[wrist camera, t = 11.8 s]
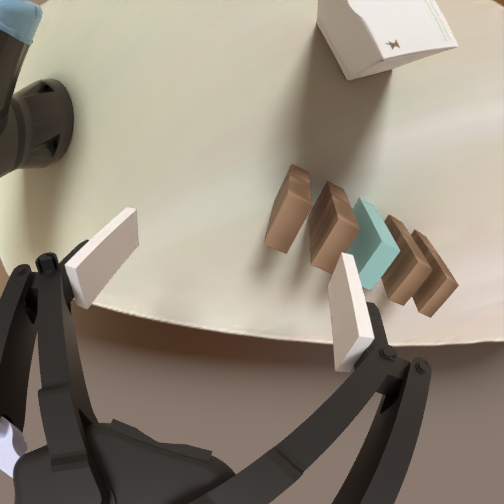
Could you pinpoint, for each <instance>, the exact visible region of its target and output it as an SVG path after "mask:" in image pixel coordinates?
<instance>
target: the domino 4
mask: <svg viewBox="0 0 504 504" xmlns="http://www.w3.org/2000/svg"><path fill="white" fill-rule="evenodd" d="M411 236H412V238H413V239H414V241H415V242H416V244H417V245H418V247H419V249H420V250H421V252H422V253H423V255H424V257H425V258H426V260H427V261H428V263H429V265H430V266H431V268H432V270H433V271H432V272H431V273H430V275H429V276H428V277H427V278H426V280H425V281H424V282H423V283H422V285H421V286H420V287H419V288H418V289H417V291H416V292H415V293H414V294H413V295H412V297H413V300H414V302H415V305H416V307H417V310H418V312H419V313H422V314H424V315H426V316H428V317H430V318H431V317H432V316H433V315H434V313H435V312H436V311H437V310H438V309H439V308H440V307H441V306H442V305H443V303H444V302H445V301H446V300H447V299H448V298H449V296H450V295H451V294H452V293H453V292H454V290H455V289H456V288H457V287H458V286H459V285H458V283H457V282H456V280H455V279H454V277H453V275H452V274H451V272H450V271H449V269H448V268H447V266H446V265H445V263H444V262H443V260H442V259H441V257H440V256H439V254H438V253H437V251H436V250H435V249H434V247H433V246H432V244H431V243H430V242H429V240H428V239H427V237H426V236H424V235H423V234H421V233H420V232H418V231H416V230H414V231H413V233H412V234H411Z"/></svg>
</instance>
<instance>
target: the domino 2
mask: <svg viewBox="0 0 504 504" xmlns="http://www.w3.org/2000/svg"><path fill="white" fill-rule="evenodd" d="M309 226H310V253H311V265H313V266H315V267H317V268H320V269H322V270H324V271H326V272H329V273H331V274H332V273H333V271H334V270H335V268H336V265H337V263H338V260H339V258H340V255H341V253H346V252H347V250H348V249H349V247H350V246H351V244H352V243H353V241H354V240H355V238H356V237H357V235H358V233H359V232H360V227H359V225H358V222H357V220H356V218H355V215H354V213H353V210H352V208H351V206H350V203H349V201H348V199H347V196H346V194H345V192H344V190H343V189H342V188H340V187H338V186H336V185H334V184H332V183H330V182H328V181H327V183H326V185H325V187H324V188H323V190H322V192H321V194H320V196H319V198H318V200H317V202H316V203H315V205H314V207H313V209H312V211H311V213H310V215H309Z"/></svg>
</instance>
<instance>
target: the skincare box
mask: <svg viewBox="0 0 504 504" xmlns="http://www.w3.org/2000/svg"><path fill="white" fill-rule="evenodd" d="M316 23H317V25H318V27H319V29H320V31H321V32H322V34H323V36H324V38H325V39H326V41H327V43H328V45H329V47H330V49H331V50H332V52H333V54H334V56H335V58H336V60H337V62H338V64H339V66H340V68H341V70H342V72H343V74H344V75H345V77H346V79H347V80H349V81H350V80H353V79H357V78H361V77H365V76H369V75H373V74H376V73H380V72H384V71H387V70H391V69H394V68H397V67H399V66H402V65H404V64H407V63H410V62H413V61H416V60H419V59H421V58H424V57H427V56H430V55H433V54H437V53H440V52H443V51H446V50H450V49H453V48H456V47H458V44H457V42H456V40H455V38H454V36H453V34H452V32H451V30H450V28H449V26H448V24H447V22H446V20H445V18H444V16H443V14H442V13H441V11H440V9H439V7H438V5H437V4H436V2H435V0H318V11H317V22H316Z"/></svg>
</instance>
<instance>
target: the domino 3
mask: <svg viewBox="0 0 504 504" xmlns="http://www.w3.org/2000/svg"><path fill="white" fill-rule="evenodd" d="M384 223H385V224H386V226H387V228H388V230H389V231H390V233H391V235H392V237H393V239H394V240H395V242H396V244H397V246H398V248H399V250H400V252H399V253H398V255H397V256H396V258H395V259H394V260H393V262H392V263H391V265H390V266H389V267H388V269H387V270H386V271H385V273H384V274H383V275H382V277H381V278H382V281H383V284H384V287H385V290H386V293H387V296H388V299H389V300H391V301H394V302H396V303H398V304H400V305H403V306H404V305H405V304H406V302H407V301H408V300H409V299H410V298H411V297H412V295H413V294H414V293H415V292H416V291H417V289H418V288H419V287H420V286H421V285H422V283H423V282H424V281H425V280H426V278H427V277H428V276H429V275H430V273H431V272H432V271H433V270H432V268H431V266H430V265H429V263H428V261H427V260H426V258H425V257H424V255H423V253H422V252H421V250H420V249H419V247H418V245H417V244H416V242H415V241H414V239H413V238H412V236H411V235H410V233H409V232H408V230H407V229H406V227H405V226H404V225H403V223H402V222H401V221H399V220H398V219H396V218H394V217H393V216H391V215H388V217H387V218H386V220H385V222H384Z"/></svg>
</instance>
